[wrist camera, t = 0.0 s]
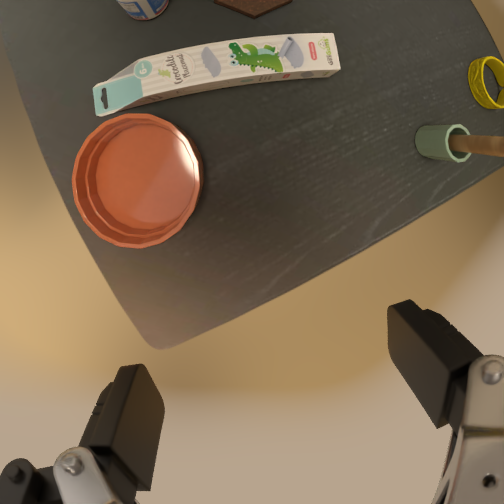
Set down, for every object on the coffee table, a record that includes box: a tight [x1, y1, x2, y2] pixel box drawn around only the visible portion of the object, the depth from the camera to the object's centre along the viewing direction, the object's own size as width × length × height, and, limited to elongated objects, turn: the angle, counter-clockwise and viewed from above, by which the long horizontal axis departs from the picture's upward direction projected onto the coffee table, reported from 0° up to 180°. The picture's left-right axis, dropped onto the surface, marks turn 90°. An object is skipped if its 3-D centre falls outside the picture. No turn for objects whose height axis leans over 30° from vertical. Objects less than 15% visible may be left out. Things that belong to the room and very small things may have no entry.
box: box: [93, 33, 341, 117], centre depth 30 cm, size 4×4×28 cm
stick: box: [448, 134, 504, 157], centre depth 27 cm, size 2×2×18 cm
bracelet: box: [468, 56, 504, 109], centre depth 32 cm, size 7×8×3 cm
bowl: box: [72, 113, 204, 249], centre depth 33 cm, size 14×14×6 cm
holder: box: [415, 124, 471, 162], centre depth 33 cm, size 4×4×7 cm
